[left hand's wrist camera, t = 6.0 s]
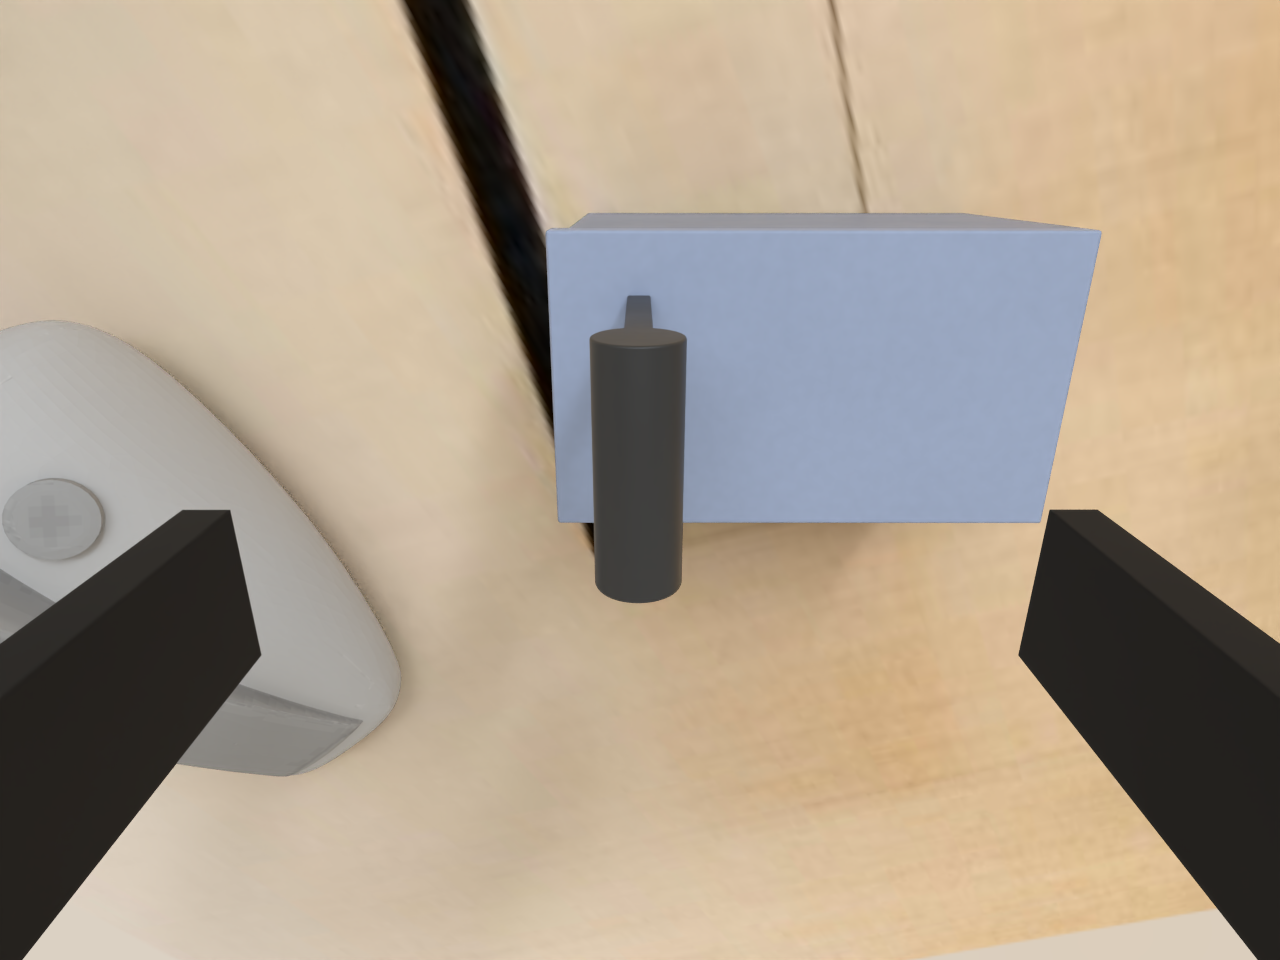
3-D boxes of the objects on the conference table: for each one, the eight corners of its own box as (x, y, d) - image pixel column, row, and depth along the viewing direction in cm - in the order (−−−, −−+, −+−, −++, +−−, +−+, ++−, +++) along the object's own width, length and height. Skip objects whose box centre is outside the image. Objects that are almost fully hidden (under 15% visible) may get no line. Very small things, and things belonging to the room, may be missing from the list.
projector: (2, 723, 42) (-309, 991, 28) (-132, 291, 33) (-671, 373, 19) (414, 741, 42) (306, 1013, 28) (386, 319, 33) (213, 419, 20)
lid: (560, 510, 27) (523, 666, 18) (549, 227, 23) (496, 258, 15) (1026, 511, 27) (1204, 667, 18) (1084, 227, 23) (1336, 259, 15)
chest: (592, 428, 36) (576, 510, 27) (587, 213, 32) (567, 227, 23) (933, 428, 36) (1026, 510, 27) (964, 213, 32) (1083, 227, 23)
